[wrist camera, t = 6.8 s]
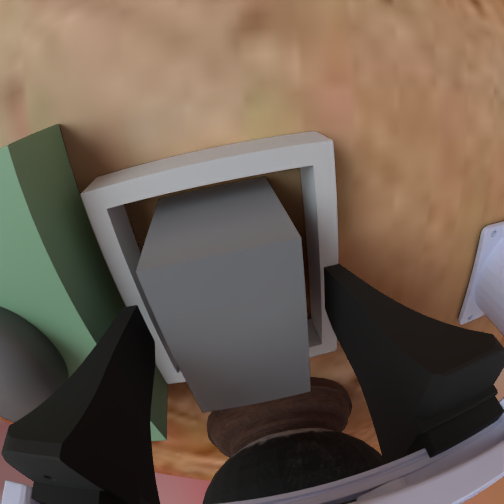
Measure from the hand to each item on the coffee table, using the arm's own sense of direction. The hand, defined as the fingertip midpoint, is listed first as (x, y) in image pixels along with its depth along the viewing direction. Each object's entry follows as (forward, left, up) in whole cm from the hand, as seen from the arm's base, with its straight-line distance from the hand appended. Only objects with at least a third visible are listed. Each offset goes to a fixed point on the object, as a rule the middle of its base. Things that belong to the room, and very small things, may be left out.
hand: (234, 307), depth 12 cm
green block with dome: (+6, 0, -3) cm, 6 cm away
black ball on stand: (-1, +15, -3) cm, 15 cm away
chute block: (0, 0, -3) cm, 3 cm away
